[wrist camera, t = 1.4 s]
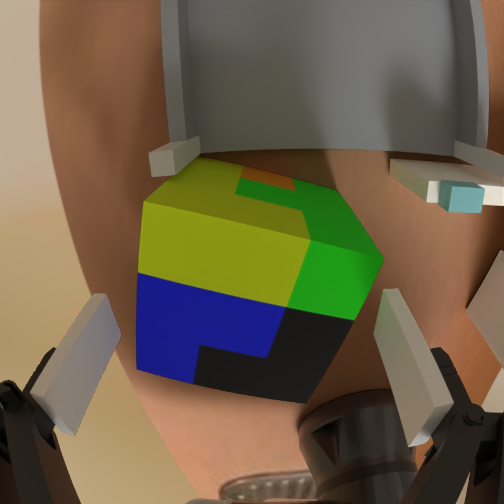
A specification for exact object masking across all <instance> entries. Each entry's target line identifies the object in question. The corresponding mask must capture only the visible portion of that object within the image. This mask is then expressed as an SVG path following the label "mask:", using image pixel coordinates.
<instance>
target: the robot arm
mask: <svg viewBox="0 0 504 504" xmlns="http://www.w3.org/2000/svg"><path fill="white" fill-rule="evenodd" d="M373 335H374V338H375V340H376V343H377V346H378V349H379V352H380V355H381V358H382V361H383V364H384V367H385V370H386V373H387V376H388V379H389V382H390V385H391V389H392V391H391V390H373V391H365V392H360V393H355V394H351V395H348V396H344V397H341V398H339V399H336V400H333V401H331V402H329V403H327V404H325V405H323V406H321V407H319V408H318V409H316V410H315V411H313V412H312V413H310V414H309V415H308V416H307V417H306V418H305V419H304V420H303V422H302V423H301V425H300V427H299V447H300V450H301V453H302V455H303V457H304V459H305V461H306V463H307V465H308V468H309V470H310V472H311V474H312V476H313V478H314V480H315V482H316V486H317V499H318V500H317V501H298V502H254V501H234V500H233V499H227V500H214V499H193V500H190V501H189V502H187V503H186V504H456V502H457V499H458V498H459V495H460V493H461V491H462V489H463V486H464V484H465V482H466V479H467V477H468V475H469V472H470V476H469V482H468V488H467V493H466V498H465V503H464V504H504V412H503V413H491V412H485V411H484V410H483V409H482V407H480V406H479V405H477V404H473V403H472V402H471V400H470V398H469V396H468V394H467V392H466V390H465V387H464V385H463V383H462V381H461V379H460V377H459V375H458V374H457V371H456V369H455V367H453V363H452V361H451V359H450V357H449V355H448V354H447V353H446V352H445V351H444V350H443V349H442V348H440V347H438V348H432V349H429V347H428V345H427V343H426V341H425V339H424V337H423V335H422V333H421V331H420V329H419V327H418V325H417V323H416V321H415V319H414V317H413V315H412V313H411V311H410V309H409V308H408V306H407V304H406V302H405V300H404V298H403V297H402V295H401V293H400V291H399V289H398V288H394V289H383V292H382V297H381V301H380V306H379V311H378V315H377V320H376V324H375V328H374V333H373ZM121 336H122V334H121V332H120V329H119V327H118V324H117V321H116V319H115V316H114V313H113V311H112V308H111V305H110V302H109V299H108V297H107V294H102V293H94V294H93V295H92V297H91V298H90V300H89V301H88V302H87V304H86V305H85V307H84V308H83V310H82V311H81V313H80V314H79V315H78V317H77V318H76V320H75V321H74V323H73V324H72V326H71V327H70V329H69V330H68V332H67V333H66V335H65V336H64V338H63V339H62V341H61V343H60V344H59V346H58V347H57V348H54V347H53V348H52V349H51V350H50V351H48V352H47V353H46V354H45V355H44V357H43V359H42V360H41V362H40V364H39V365H38V366H37V368H36V371H34V373H33V375H32V376H31V378H30V379H29V381H28V383H27V384H26V386H25V388H24V389H23V391H22V392H21V390H20V389H19V388H18V387H17V385H16V383H14V382H13V381H10V380H6V381H3V382H1V383H0V504H81V502H80V500H79V498H78V496H77V493H76V491H75V488H74V486H73V484H72V481H71V478H70V475H69V473H68V470H67V467H66V464H65V461H64V459H63V456H62V453H61V450H60V447H59V443H58V440H57V437H56V434H55V432H54V431H53V428H54V426H55V425H56V426H57V427H58V429H59V430H60V431H61V432H63V433H66V434H69V435H73V436H76V433H77V431H78V428H79V426H80V424H81V421H82V419H83V417H84V415H85V412H86V410H87V408H88V405H89V403H90V401H91V399H92V396H93V394H94V392H95V390H96V388H97V385H98V383H99V381H100V379H101V377H102V374H103V373H104V371H105V369H106V366H107V364H108V362H109V360H110V358H111V356H112V354H113V352H114V350H115V348H116V346H117V344H118V342H119V340H120V338H121ZM431 436H432V439H433V443H434V444H433V445H432V446H431V447H430V449H429V450H428V451H427V452H426V454H425V456H426V458H425V460H424V462H423V464H422V466H421V467H420V469H419V471H418V470H417V466H416V461H415V454H416V445H420V444H424V443H426V442H427V441H428V439H429V438H430V437H431Z"/></svg>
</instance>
